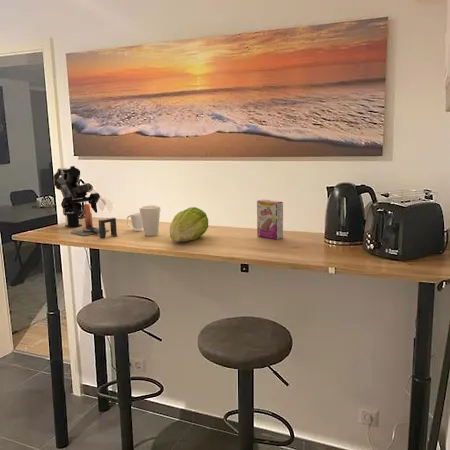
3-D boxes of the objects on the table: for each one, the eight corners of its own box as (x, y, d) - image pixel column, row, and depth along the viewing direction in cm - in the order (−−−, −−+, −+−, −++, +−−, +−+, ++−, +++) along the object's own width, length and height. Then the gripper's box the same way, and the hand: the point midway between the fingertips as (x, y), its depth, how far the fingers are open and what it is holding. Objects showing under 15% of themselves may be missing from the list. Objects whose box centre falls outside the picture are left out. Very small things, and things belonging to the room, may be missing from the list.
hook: (80, 231, 236) (78, 204, 233) (91, 229, 240) (89, 203, 237) (99, 236, 224) (97, 208, 222) (110, 233, 228) (108, 206, 226)
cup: (140, 232, 233) (139, 215, 231) (123, 230, 237) (122, 214, 235) (148, 229, 239) (147, 213, 237) (131, 227, 243) (130, 212, 241)
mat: (70, 232, 235) (70, 231, 235) (96, 227, 245) (96, 227, 245) (83, 236, 227) (83, 235, 227) (109, 231, 236) (109, 230, 236)
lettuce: (152, 230, 205) (178, 214, 198) (178, 212, 226) (202, 197, 219) (170, 258, 207) (196, 244, 199) (194, 238, 228) (218, 224, 221)
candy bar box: (256, 236, 218) (256, 200, 214) (263, 234, 221) (263, 199, 218) (276, 240, 210) (276, 202, 207) (283, 238, 214) (283, 201, 210)
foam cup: (148, 237, 221) (146, 209, 218) (137, 234, 228) (135, 207, 225) (165, 234, 227) (164, 206, 224) (154, 231, 234) (153, 204, 231)
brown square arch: (99, 237, 222) (98, 219, 221) (114, 235, 228) (112, 217, 226) (102, 238, 221) (101, 220, 219) (116, 235, 226) (115, 218, 224)
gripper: (61, 180, 228) (75, 205, 223) (96, 176, 241) (110, 200, 236) (55, 195, 235) (68, 220, 230) (89, 191, 248) (102, 214, 243)
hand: (88, 213), depth 234 cm, fingers open, 9 cm apart
